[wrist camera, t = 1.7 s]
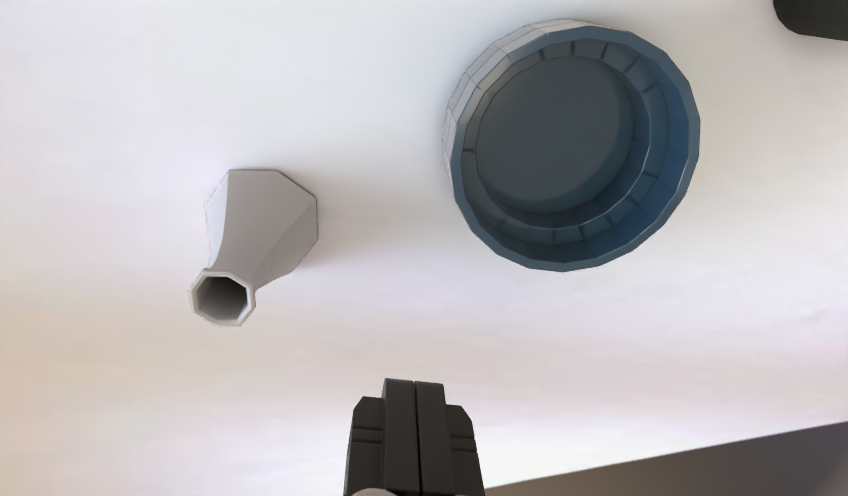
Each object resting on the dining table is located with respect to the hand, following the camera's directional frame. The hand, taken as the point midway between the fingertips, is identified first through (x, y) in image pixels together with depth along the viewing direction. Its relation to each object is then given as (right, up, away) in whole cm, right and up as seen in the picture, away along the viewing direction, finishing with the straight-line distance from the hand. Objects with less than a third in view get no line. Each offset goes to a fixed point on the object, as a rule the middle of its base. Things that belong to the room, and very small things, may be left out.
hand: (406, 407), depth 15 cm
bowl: (+8, +11, +21) cm, 25 cm away
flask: (-10, +6, +22) cm, 25 cm away
